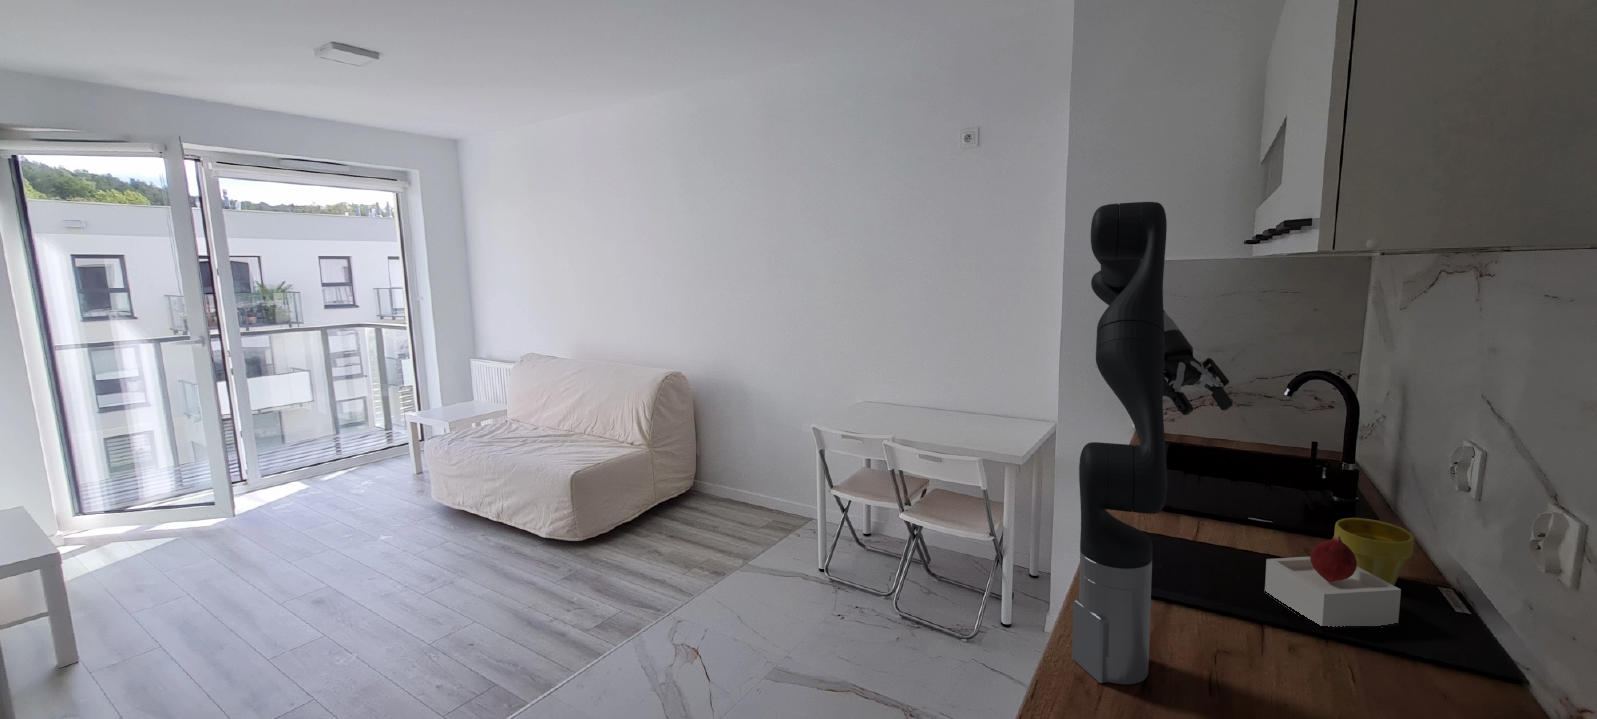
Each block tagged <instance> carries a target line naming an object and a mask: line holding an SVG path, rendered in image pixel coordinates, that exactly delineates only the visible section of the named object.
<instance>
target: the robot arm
mask: <svg viewBox="0 0 1597 719" xmlns="http://www.w3.org/2000/svg"><path fill="white" fill-rule="evenodd" d="M1167 221H1168V220H1167V213H1166V209H1165V208H1164V206H1163V205H1162V204H1161V203H1160V202H1157V201H1136V202H1120V203H1108V204H1105V205H1101V206H1100V207H1098V208H1097V209H1096V210H1095V211H1094V213H1093V215H1092V219H1091V225H1090V226H1091V227H1090V246H1091V247H1090V248H1091V251H1092V254H1093V256H1094V258H1095V259H1096V261H1097V262H1098V263H1099V264H1100V270H1099V271H1097V272H1096V273H1094V274H1093V276H1092V278H1091V282H1090V285H1091V290H1092V292H1094V294H1095V296H1097V297H1098V298H1099V300H1101V301H1102V302H1104V303H1105V304H1106V305H1108V306H1107V308H1106V309H1105V310H1104V312H1103V313H1102V315H1101V317H1100V319H1099V320H1098V323H1097V326H1096V340H1095V341H1096V342H1095V362H1096V364H1095V365H1096V366H1097V369H1098V372H1099V373H1100V375H1101V377H1102V379H1104V381H1105V383H1106V384H1107V385H1108V386H1109V388H1110V390H1112V392H1113V393H1114V394H1115V396H1116V397H1117V399H1118V400H1119V401H1120V402H1121V404H1122V406H1123V407H1124V408H1125V410H1126V412H1127V414H1128V415H1129V417H1130V419H1131V421H1132V423H1133V425H1134V428H1135V431H1136V433H1137V437H1138V440H1139V444H1125V443H1111V442H1095V441H1092V442H1091V441H1090V442H1088V443H1086V444H1085V445H1084V446H1083V448H1082V450H1081V452H1080V456H1079V463H1078V464H1079V465H1078V470H1079V471H1078V478H1079V479H1078V480H1079V498H1080V499H1079V501H1080V539H1079V581H1078V582H1079V585H1078V587H1079V590H1078V592H1079V593H1078V596H1079V597H1078V598H1076V599H1073V602H1072V603H1073V604H1072V656H1071V658H1072V660H1073V661H1074V662H1075V663H1076V664H1078V666H1080V668H1082V669H1083V670H1084V671H1086V672H1087V674H1088V675H1090V676H1091V677H1092V678H1093V679H1095V680H1096V681H1097V682H1098V683H1099V684H1104V683H1112V684H1117V685H1135V684H1138V683H1139V684H1140V683H1142V682H1143V681H1144V680H1146V679H1147V677H1148V675H1149V661H1150V660H1149V659H1150V636H1151V635H1150V634H1151V632H1150V630H1151V603H1152V601H1151V600H1152V598H1151V597H1152V596H1151V595H1152V575H1153V574H1152V571H1153V543H1152V540H1151V539H1150V537H1149V536H1148V535H1147V534H1146V533H1145V532H1144V531H1142V530H1140V529H1139V528H1136V527H1134V526H1132V525H1131V524H1127V523H1125V522H1123V521H1121V520H1120V519H1117V518H1116V517H1115V516H1114V515H1112V514H1111V513H1110V512H1108V510H1110V511H1119V512H1127V513H1136V514H1137V513H1138V514H1147V515H1156V514H1159V513H1160V512H1161V511H1162V510H1163V508H1164V507H1165V505H1166V500H1167V495H1168V494H1167V493H1168V470H1167V469H1168V466H1167V452H1166V451H1167V450H1166V440H1165V439H1166V438H1165V423H1164V405H1163V404H1164V401H1163V400H1164V397H1167V399H1169V400H1171V401H1172V402H1173V404H1174V406H1175V407H1176V409H1177V410H1178V412H1180V413H1181V414H1182V415H1183V416H1188V415H1190V413H1191V412H1193V411H1194V406H1193V405H1192V404H1191V402H1190V400H1189V399H1188V397H1187V396H1186V394H1185V392H1183V391H1182V387H1185V386H1195V387H1196V388H1197V389H1203V390H1205V391H1206V392H1208V393H1209V394H1210V396H1211V397H1212V399H1213V400H1214V402H1215V403H1216V404H1217V406H1218V408H1220V410H1221V411H1227V410H1229V409H1230V408H1232V406H1233V401H1232V399H1231V397H1230V396H1229V395H1228V393H1227V391H1226V390H1225V389H1224V388H1225V387H1226V386H1227V385H1228V384H1229V383H1230V380H1229V379H1228V377H1227V376H1226V375H1225V373H1224V371H1223V370H1221V368H1219V366H1218V365H1217V364H1216V362H1215V361H1214V360H1213V359H1212V358H1210V357H1207V358H1206V359H1205V360H1203V361H1199V360H1197V359H1196V358H1195V356H1194V348H1193V346H1192V345H1191V343H1190V342H1189V341H1188V339H1187V337H1186V336H1185V335H1184V334H1183V332H1182V331H1181V329H1180V328H1179V326H1178V325H1177V324H1176V322H1175V321H1174V320H1173V319H1172V318H1171V317H1170V316H1169V315H1168V314H1167V313H1166V310H1164V273H1165V259H1166V258H1165V257H1166V245H1167V232H1168V231H1167V227H1168V226H1167V225H1168V223H1167ZM1202 377H1203V379H1202V380H1201V378H1202ZM1217 378H1218V379H1219V380H1218V379H1217ZM1208 383H1210V384H1212V385H1210V384H1208Z"/></svg>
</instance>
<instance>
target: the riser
mask: <svg viewBox="0 0 1597 719" xmlns="http://www.w3.org/2000/svg"><path fill="white" fill-rule="evenodd" d="M1265 564H1266V565H1265V579H1264V580H1265V582H1264V592H1265V591H1266V592H1267V593H1269V594H1270V595H1272V596H1273V597H1274V598H1276V599H1278V600H1279V601H1281V602H1282V603H1284V604H1286V605H1287V606H1288V607H1291V608H1292V609H1294V610H1295V611H1297V612H1299V613H1300V614H1301V615H1304V616H1305V617H1307V618H1308V619H1310V620H1312V621H1314V622H1315V623H1317V624H1319V625H1320V626H1328V627H1330V626H1332V627H1335V626H1336V627H1338V626H1340V627H1342V626H1344V627H1345V626H1381V625H1388V624H1394V623H1398V624H1399V619H1400V618H1399V617H1400V606H1401V596H1402V595H1401V592H1402V589H1401V588H1399V587H1397V586H1395V585H1394V586H1393V585H1392V584H1390V583H1388V582H1386V581H1384V580H1382V579H1380V578H1378V577H1376V576H1374V575H1372V574H1371V573H1369V572H1367V571H1365V570H1363V569H1361V568H1359V567H1356V570H1355V572H1354V574H1353V575H1352V576H1351V577H1349V578H1347V579H1344V580H1340V581H1334V582H1328V581H1326V580H1325V579H1324V578H1323V577H1321V576H1320V575H1319V574H1318V573H1317V571H1316V570H1315V569H1314V568H1313V566H1312V563H1311V561H1310V555H1309V556H1295V557H1282V558H1281V557H1280V558H1279V557H1278V558H1277V557H1276V558H1266V562H1265ZM1267 593H1266V594H1267ZM1270 595H1269V596H1270ZM1274 598H1273V599H1274Z"/></svg>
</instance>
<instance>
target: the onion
mask: <svg viewBox="0 0 1597 719" xmlns="http://www.w3.org/2000/svg"><path fill="white" fill-rule="evenodd" d="M1309 556H1310V561H1311V563H1312V566H1313V568H1314V569H1315V570H1316V571H1317V573H1318V574H1319V575H1320V576H1321V577H1323V578H1324V579H1325V580H1326V581H1328V582H1334V581H1340V580H1344V579H1347V578H1349V577H1351V576H1352V575H1353V574H1354V572H1355V570H1356V567H1357V560H1356V557H1355V555H1354V553H1353V552H1352V550H1351V549H1350V548H1349V547H1348V546H1347V545H1345V544H1344V543H1343V542H1342V541H1341V538H1340V537H1339V536H1338V535H1335V536H1334V535H1333V537H1332V539H1329V540H1324V541H1322V542H1319V543H1318V544H1317V545H1316V546H1314V547H1313V548H1312V549H1311V551H1310V555H1309Z"/></svg>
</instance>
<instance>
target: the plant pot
mask: <svg viewBox="0 0 1597 719" xmlns="http://www.w3.org/2000/svg"><path fill="white" fill-rule="evenodd" d="M1335 535H1338V536H1339V537H1340V538H1341V541H1342V542H1343V543H1344V544H1345V545H1347V546H1348V547H1349V548H1350V549H1351V550H1352V552H1353V553H1354V555H1355V557H1356V560H1357V567H1359V568H1361V569H1363V570H1365V571H1367V572H1369V573H1371V574H1372V575H1374V576H1376V577H1378V578H1380V579H1382V580H1384V581H1386V582H1388V583H1390V584H1392V585H1393V586H1395V585H1396V584H1397V583H1396V582H1397V581H1398V578H1399V575H1400V574H1401V571H1402V569H1403V567H1404V564H1405V562H1406V560H1408V559H1410V558H1411V557H1412V556H1413V552H1414V548H1415V546H1414V545H1415V536H1414V535H1413V534H1412V533H1411V532H1410V531H1409V530H1407V529H1405V528H1403V527H1401V526H1398V525H1395V524H1392V523H1388V522H1385V521H1382V520H1377V519H1376V520H1375V519H1369V518H1364V517H1363V518H1362V517H1361V518H1360V517H1348V518H1347V517H1346V518H1340V519H1339V520H1337V521H1336V522H1335V525H1334V534H1333V537H1334V536H1335Z"/></svg>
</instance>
